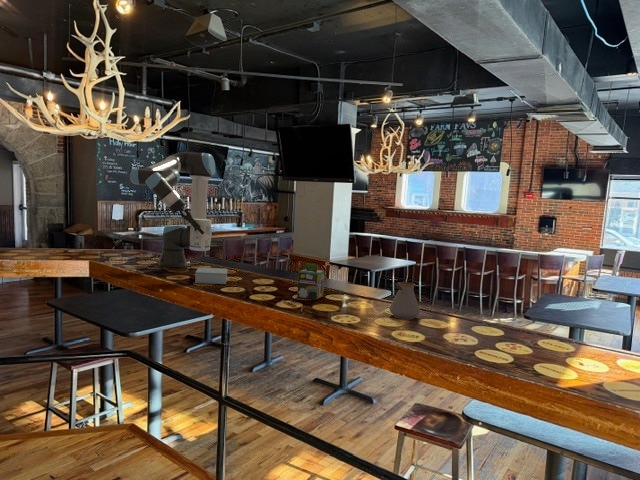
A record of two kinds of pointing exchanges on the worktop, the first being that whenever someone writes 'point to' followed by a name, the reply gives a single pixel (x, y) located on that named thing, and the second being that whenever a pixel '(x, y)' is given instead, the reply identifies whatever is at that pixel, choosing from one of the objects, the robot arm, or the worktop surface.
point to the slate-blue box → (211, 275)
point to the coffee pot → (405, 302)
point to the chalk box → (310, 283)
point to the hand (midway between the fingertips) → (207, 238)
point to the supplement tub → (196, 239)
